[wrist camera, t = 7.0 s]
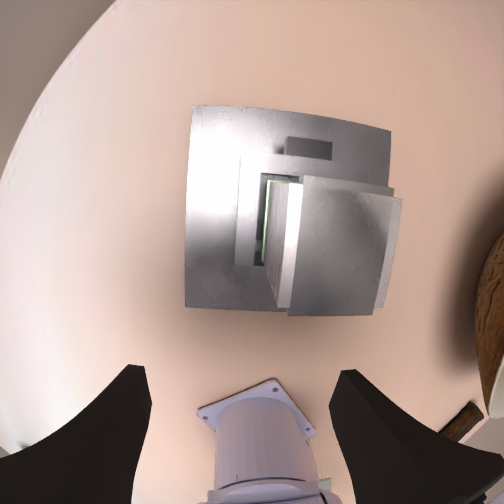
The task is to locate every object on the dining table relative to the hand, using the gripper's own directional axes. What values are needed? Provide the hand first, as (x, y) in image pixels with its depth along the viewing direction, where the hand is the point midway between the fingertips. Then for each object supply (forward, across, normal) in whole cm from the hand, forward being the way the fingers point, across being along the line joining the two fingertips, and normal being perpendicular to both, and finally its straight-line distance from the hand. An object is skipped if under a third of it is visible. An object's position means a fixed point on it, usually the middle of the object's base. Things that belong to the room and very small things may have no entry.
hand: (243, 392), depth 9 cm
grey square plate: (+11, -3, -5) cm, 12 cm away
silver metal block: (+7, -3, -5) cm, 9 cm away
